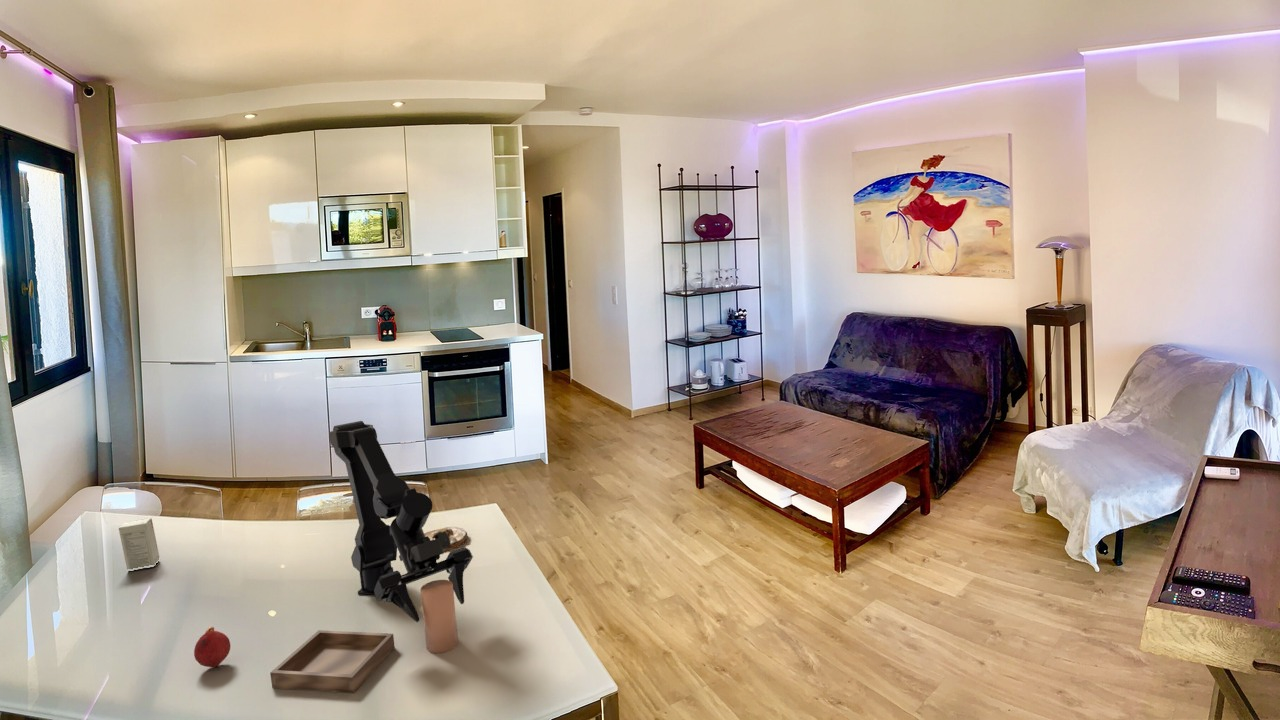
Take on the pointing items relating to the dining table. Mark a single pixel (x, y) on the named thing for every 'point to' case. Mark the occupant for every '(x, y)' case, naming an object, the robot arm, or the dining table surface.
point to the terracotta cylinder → (439, 616)
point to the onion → (211, 648)
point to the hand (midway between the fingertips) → (441, 611)
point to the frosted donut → (450, 536)
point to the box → (333, 661)
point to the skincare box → (139, 543)
